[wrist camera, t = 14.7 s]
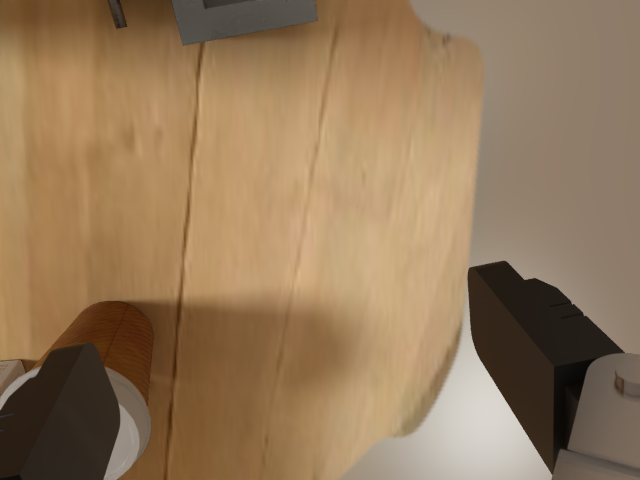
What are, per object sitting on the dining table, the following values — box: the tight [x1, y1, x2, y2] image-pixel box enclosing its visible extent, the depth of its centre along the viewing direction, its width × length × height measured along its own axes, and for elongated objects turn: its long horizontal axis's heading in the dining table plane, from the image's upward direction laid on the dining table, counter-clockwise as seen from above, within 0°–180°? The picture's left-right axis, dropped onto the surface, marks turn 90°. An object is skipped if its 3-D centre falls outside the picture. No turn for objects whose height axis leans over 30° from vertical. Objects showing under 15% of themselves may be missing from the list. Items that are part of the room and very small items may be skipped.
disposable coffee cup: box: [0, 301, 153, 480], centre depth 40 cm, size 10×10×12 cm
